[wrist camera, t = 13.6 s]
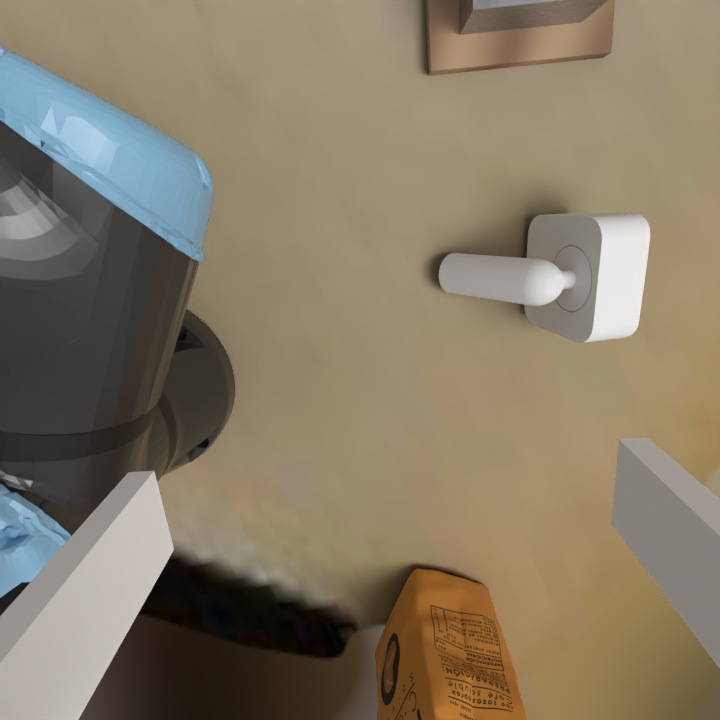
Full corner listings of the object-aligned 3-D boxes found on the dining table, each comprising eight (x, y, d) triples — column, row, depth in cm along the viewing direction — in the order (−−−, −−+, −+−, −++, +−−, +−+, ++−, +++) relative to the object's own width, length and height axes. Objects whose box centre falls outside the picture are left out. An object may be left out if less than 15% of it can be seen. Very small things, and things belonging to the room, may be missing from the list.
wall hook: (432, 219, 36) (496, 224, 27) (555, 211, 38) (654, 213, 29) (433, 323, 39) (491, 360, 30) (548, 311, 41) (636, 342, 32)
